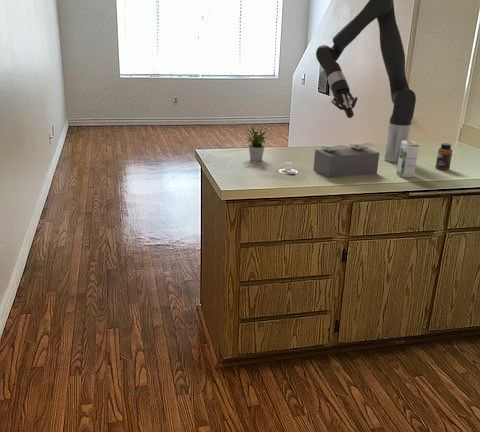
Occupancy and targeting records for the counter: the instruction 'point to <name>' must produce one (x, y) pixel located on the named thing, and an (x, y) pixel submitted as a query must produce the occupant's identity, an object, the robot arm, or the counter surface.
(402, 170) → the syrup box
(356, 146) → the white flat box
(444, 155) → the supplement bottle
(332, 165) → the switch box
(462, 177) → the counter surface
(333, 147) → the sage rocker
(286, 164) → the teacup and saucer
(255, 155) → the house plant
